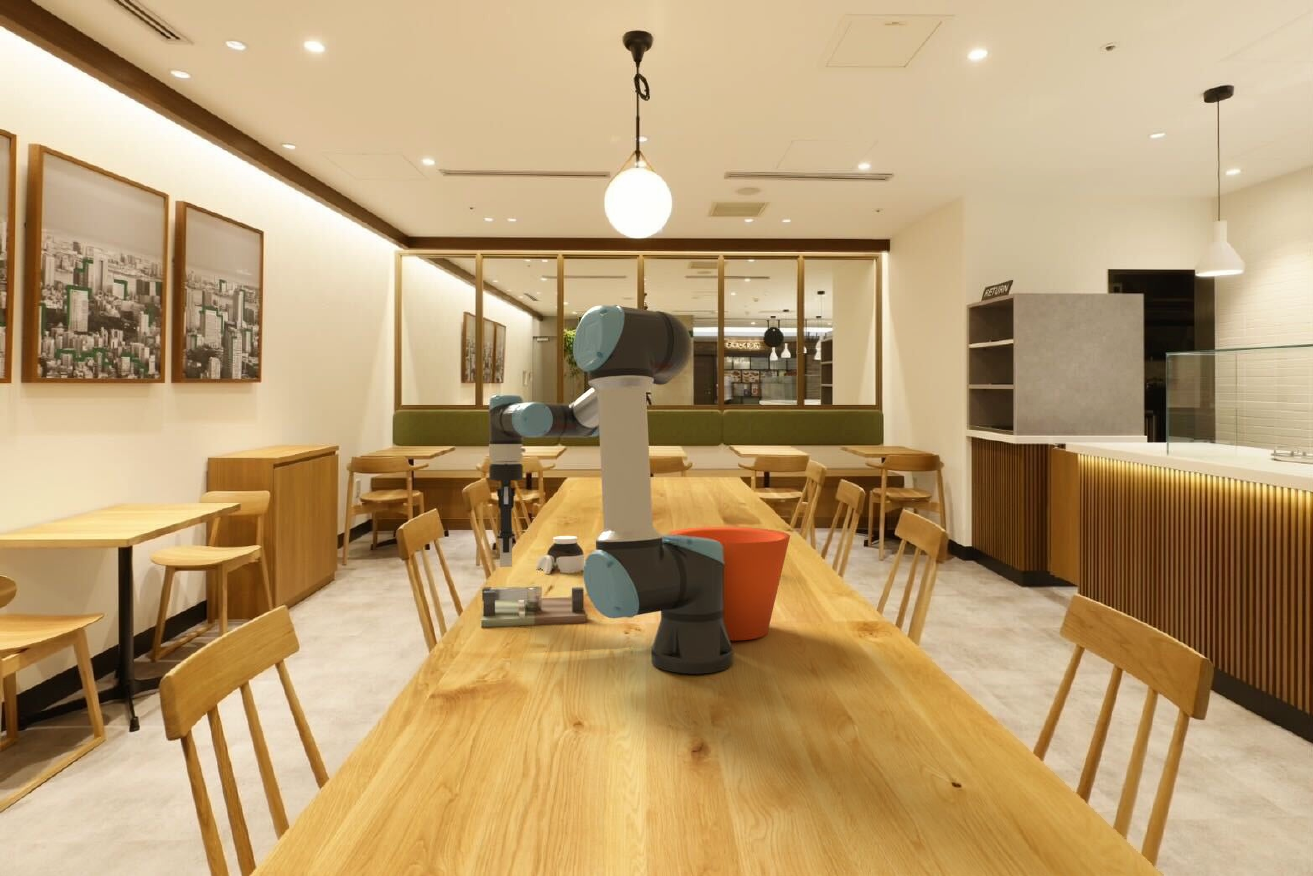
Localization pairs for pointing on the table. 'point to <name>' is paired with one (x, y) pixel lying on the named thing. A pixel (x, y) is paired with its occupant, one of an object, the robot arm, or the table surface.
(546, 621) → the lever base plate
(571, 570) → the spread jar
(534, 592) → the lock bar
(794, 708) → the table surface
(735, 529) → the flowerpot
